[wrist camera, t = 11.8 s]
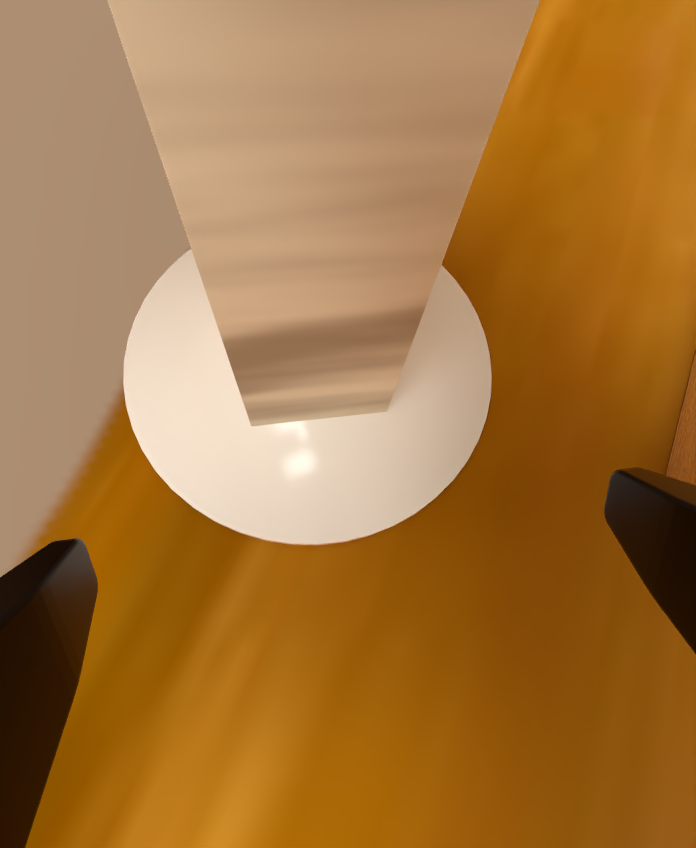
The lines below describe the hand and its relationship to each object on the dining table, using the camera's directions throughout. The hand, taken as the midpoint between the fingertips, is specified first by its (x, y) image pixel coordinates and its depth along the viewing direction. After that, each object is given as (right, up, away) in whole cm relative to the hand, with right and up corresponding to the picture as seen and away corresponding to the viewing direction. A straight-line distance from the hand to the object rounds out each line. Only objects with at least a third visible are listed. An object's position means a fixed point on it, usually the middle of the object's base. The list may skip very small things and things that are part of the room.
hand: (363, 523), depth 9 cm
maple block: (-2, +4, +11) cm, 12 cm away
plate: (-2, +4, +12) cm, 12 cm away
